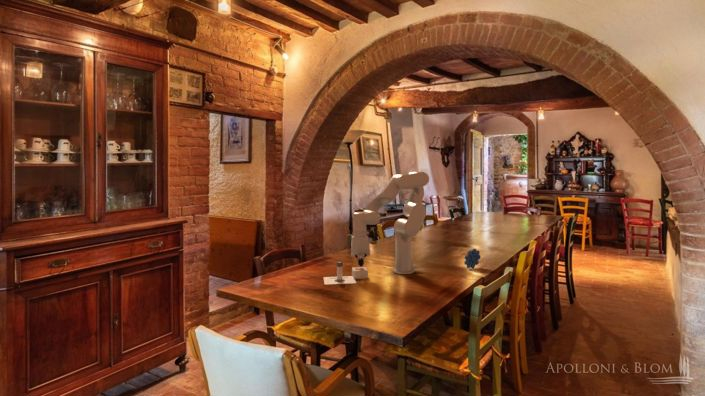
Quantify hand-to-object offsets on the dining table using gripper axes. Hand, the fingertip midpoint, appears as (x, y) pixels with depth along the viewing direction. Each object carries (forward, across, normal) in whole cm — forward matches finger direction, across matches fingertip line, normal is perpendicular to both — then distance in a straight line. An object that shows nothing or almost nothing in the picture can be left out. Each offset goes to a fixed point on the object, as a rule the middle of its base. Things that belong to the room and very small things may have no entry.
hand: (361, 265), depth 234 cm
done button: (+4, +1, 0) cm, 5 cm away
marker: (+5, +13, +7) cm, 16 cm away
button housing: (+6, +1, 0) cm, 6 cm away
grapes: (+9, -69, -10) cm, 70 cm away
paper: (+6, +13, +6) cm, 16 cm away
